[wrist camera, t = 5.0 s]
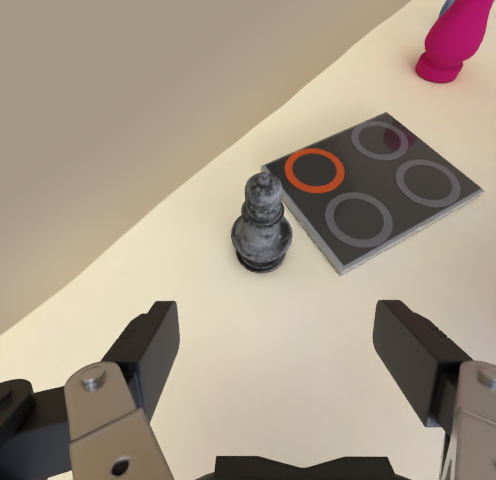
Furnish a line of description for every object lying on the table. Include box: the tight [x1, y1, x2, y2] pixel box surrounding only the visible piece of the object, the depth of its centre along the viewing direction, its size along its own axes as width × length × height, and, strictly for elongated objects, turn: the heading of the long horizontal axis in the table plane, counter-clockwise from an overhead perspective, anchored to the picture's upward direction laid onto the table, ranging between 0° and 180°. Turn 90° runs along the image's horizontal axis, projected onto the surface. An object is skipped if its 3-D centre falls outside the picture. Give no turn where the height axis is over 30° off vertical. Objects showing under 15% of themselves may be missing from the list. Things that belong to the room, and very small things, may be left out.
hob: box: [261, 112, 484, 276], centre depth 33 cm, size 20×16×2 cm
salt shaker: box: [231, 171, 292, 273], centre depth 25 cm, size 6×6×12 cm
